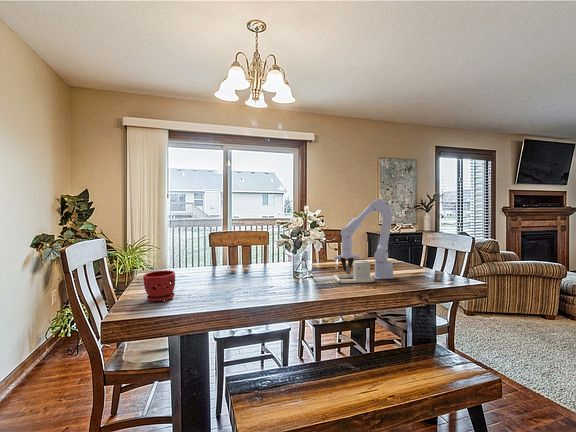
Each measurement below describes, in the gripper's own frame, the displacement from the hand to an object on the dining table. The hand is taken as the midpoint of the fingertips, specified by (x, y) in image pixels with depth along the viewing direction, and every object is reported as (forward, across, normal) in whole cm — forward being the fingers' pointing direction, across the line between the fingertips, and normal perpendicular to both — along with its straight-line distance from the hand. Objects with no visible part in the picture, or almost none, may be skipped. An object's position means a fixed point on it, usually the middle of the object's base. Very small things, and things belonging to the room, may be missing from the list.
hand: (346, 271), depth 191 cm
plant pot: (+2, +95, +39) cm, 103 cm away
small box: (+2, -4, +17) cm, 17 cm away
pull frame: (+2, 0, +11) cm, 11 cm away
